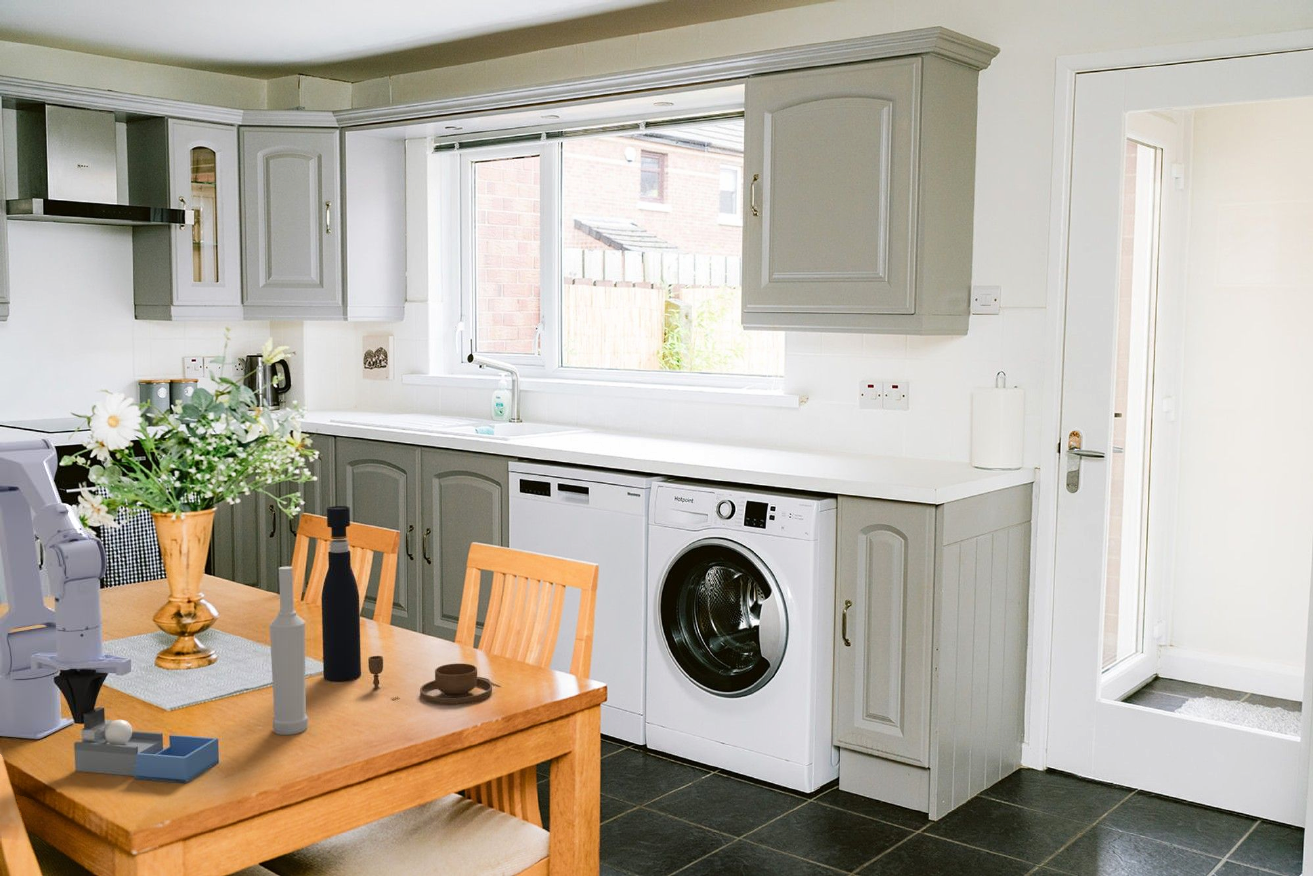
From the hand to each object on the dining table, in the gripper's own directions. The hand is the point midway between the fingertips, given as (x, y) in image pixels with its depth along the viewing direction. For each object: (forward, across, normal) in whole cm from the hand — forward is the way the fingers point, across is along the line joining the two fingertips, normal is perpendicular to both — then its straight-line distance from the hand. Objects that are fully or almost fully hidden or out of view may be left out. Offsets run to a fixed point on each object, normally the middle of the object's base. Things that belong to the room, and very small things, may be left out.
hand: (83, 721), depth 164 cm
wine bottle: (+6, +16, +46) cm, 49 cm away
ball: (+1, +6, 0) cm, 6 cm away
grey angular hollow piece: (+3, +2, 0) cm, 4 cm away
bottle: (+6, +21, +19) cm, 29 cm away
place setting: (+7, +36, +42) cm, 56 cm away
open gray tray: (+6, +6, 0) cm, 9 cm away
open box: (+6, +14, 0) cm, 16 cm away
